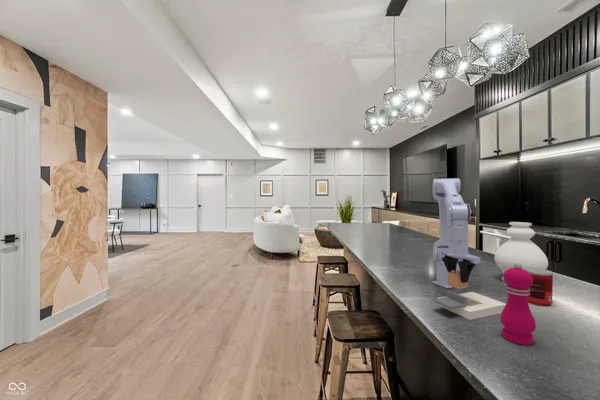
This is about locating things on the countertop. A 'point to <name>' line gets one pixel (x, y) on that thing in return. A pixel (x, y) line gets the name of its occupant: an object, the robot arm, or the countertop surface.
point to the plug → (456, 280)
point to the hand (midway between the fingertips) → (458, 280)
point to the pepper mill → (518, 306)
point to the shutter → (452, 301)
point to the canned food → (540, 287)
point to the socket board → (478, 306)
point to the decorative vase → (520, 249)
